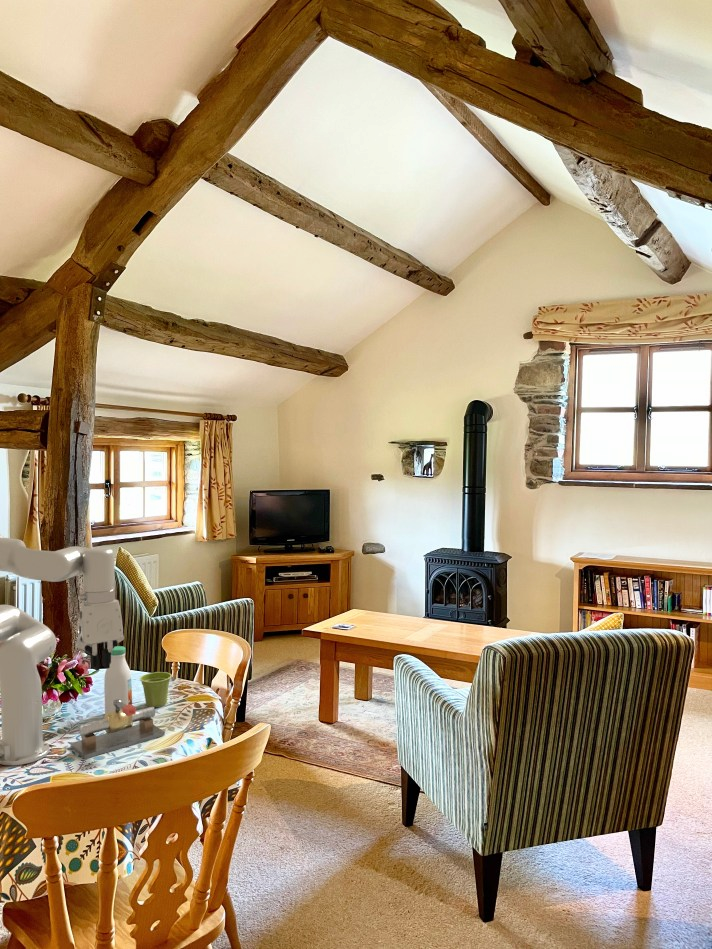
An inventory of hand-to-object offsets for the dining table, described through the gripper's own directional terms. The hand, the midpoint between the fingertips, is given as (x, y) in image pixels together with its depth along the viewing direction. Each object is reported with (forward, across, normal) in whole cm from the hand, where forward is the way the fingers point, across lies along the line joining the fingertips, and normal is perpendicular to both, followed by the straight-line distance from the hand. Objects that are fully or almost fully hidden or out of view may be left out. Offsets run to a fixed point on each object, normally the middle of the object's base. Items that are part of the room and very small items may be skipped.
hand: (101, 667), depth 180 cm
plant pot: (+23, +27, +26) cm, 44 cm away
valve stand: (+23, +7, +7) cm, 25 cm away
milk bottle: (+23, +15, +26) cm, 38 cm away
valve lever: (+14, +7, +3) cm, 16 cm away
